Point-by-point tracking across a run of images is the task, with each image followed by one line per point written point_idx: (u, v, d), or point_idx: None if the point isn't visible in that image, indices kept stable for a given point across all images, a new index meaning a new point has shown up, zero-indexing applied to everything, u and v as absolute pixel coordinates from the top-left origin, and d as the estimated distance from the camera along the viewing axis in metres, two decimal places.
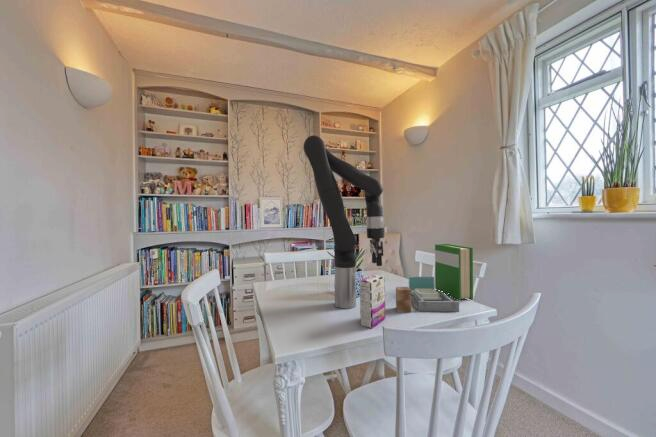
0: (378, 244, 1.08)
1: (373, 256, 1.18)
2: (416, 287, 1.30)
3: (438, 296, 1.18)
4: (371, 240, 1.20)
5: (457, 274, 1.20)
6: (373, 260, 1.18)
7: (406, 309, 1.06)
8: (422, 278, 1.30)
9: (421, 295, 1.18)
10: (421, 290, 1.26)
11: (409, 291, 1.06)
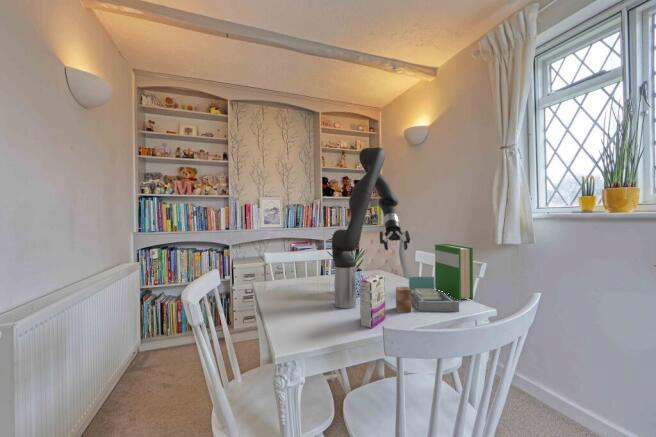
0: None
1: None
2: (416, 287, 1.30)
3: (438, 296, 1.18)
4: (381, 232, 1.31)
5: (457, 274, 1.20)
6: None
7: (406, 309, 1.06)
8: (422, 278, 1.30)
9: (421, 295, 1.18)
10: (421, 290, 1.26)
11: (409, 291, 1.06)
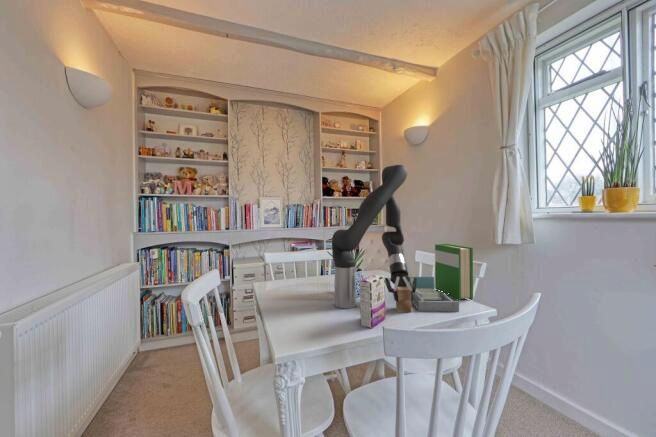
0: None
1: None
2: (416, 287, 1.30)
3: (438, 296, 1.18)
4: None
5: (457, 274, 1.20)
6: None
7: (406, 309, 1.06)
8: (422, 278, 1.30)
9: (421, 295, 1.18)
10: (421, 290, 1.26)
11: (409, 291, 1.06)
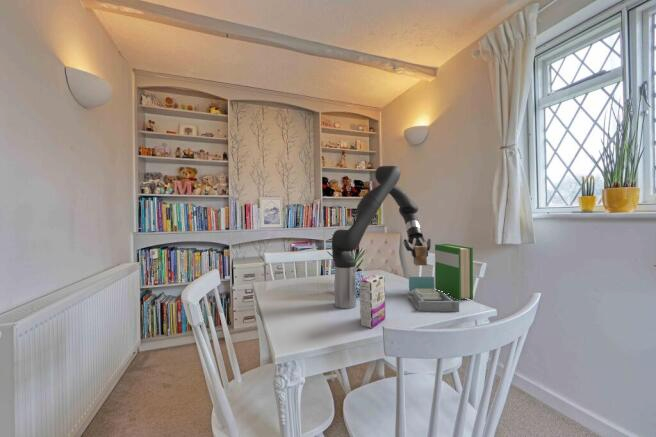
0: None
1: None
2: (416, 287, 1.30)
3: (438, 296, 1.18)
4: None
5: (457, 274, 1.20)
6: None
7: (423, 263, 1.28)
8: (422, 278, 1.30)
9: (421, 295, 1.18)
10: (421, 290, 1.26)
11: (425, 248, 1.28)
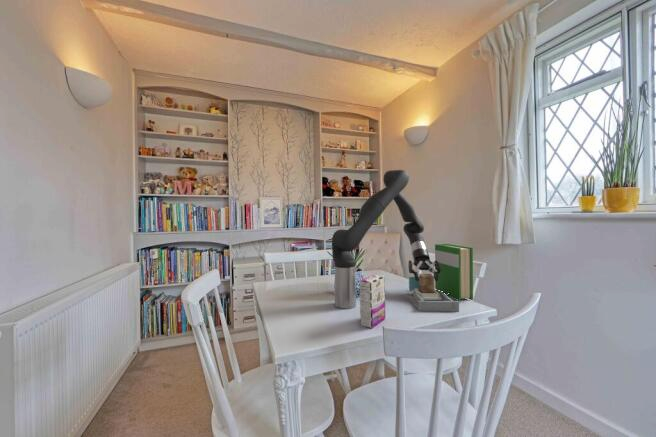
0: None
1: None
2: (416, 287, 1.30)
3: (438, 296, 1.18)
4: (410, 261, 1.28)
5: (457, 274, 1.20)
6: None
7: None
8: None
9: (421, 295, 1.18)
10: None
11: (432, 277, 1.20)
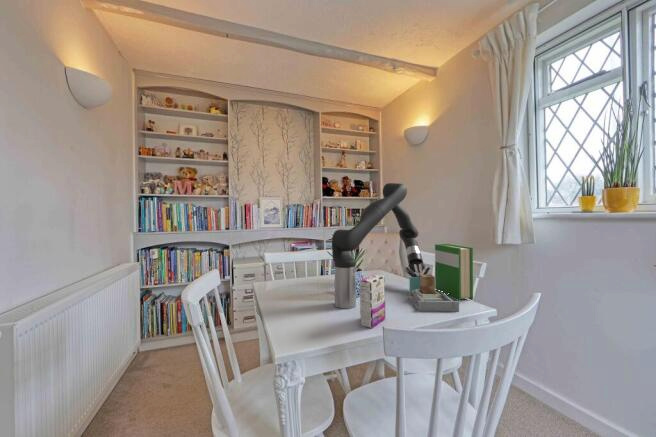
0: (428, 270, 1.36)
1: None
2: (417, 288, 1.29)
3: (439, 297, 1.17)
4: None
5: (457, 274, 1.20)
6: None
7: None
8: None
9: (422, 296, 1.17)
10: None
11: (433, 278, 1.19)
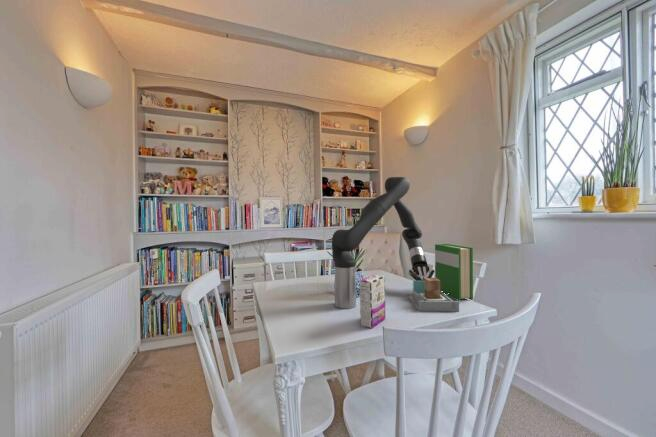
0: (433, 273, 1.29)
1: None
2: (421, 292, 1.22)
3: None
4: (410, 270, 1.30)
5: (457, 274, 1.20)
6: None
7: None
8: None
9: None
10: None
11: (438, 281, 1.12)
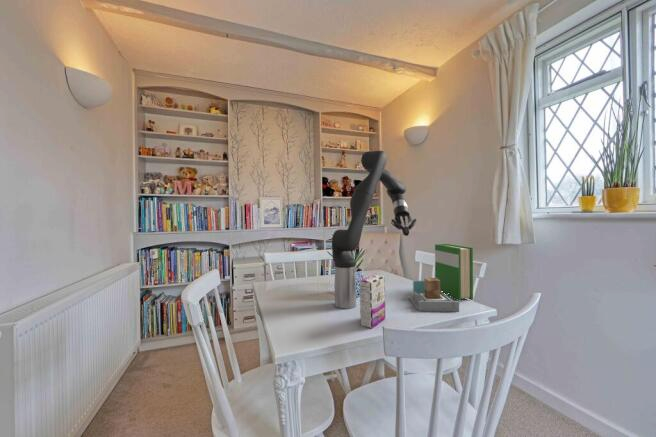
0: (415, 222, 1.32)
1: None
2: (421, 292, 1.22)
3: None
4: None
5: (457, 274, 1.20)
6: None
7: None
8: None
9: None
10: None
11: (438, 281, 1.12)
